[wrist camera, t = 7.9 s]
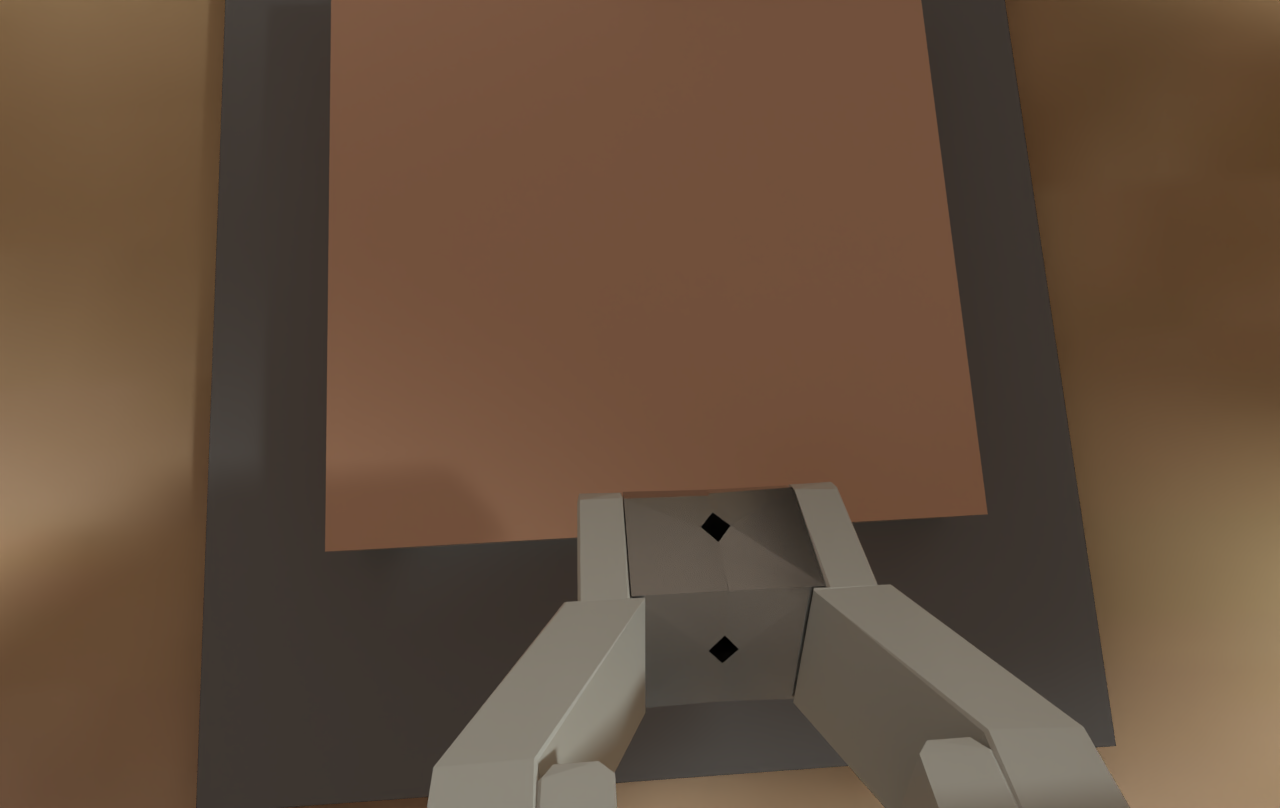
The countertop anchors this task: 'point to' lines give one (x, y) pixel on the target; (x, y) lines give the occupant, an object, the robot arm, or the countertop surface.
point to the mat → (547, 570)
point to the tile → (635, 264)
